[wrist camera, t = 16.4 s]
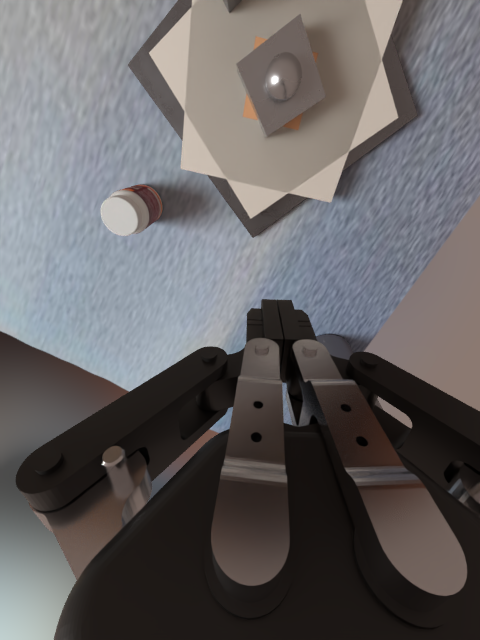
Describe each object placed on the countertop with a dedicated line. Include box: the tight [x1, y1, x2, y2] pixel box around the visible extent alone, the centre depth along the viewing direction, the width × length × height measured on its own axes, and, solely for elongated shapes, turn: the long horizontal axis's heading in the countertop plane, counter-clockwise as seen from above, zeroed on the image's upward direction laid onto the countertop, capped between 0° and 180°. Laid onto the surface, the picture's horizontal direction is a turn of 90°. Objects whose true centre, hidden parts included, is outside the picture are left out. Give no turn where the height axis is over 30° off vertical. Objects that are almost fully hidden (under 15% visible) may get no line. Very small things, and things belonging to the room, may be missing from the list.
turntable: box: [149, 0, 403, 219], centre depth 25 cm, size 26×25×6 cm
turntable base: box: [128, 0, 417, 238], centre depth 28 cm, size 22×22×1 cm
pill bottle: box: [101, 184, 163, 236], centre depth 32 cm, size 5×5×8 cm
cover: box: [236, 14, 326, 138], centre depth 24 cm, size 6×6×4 cm
